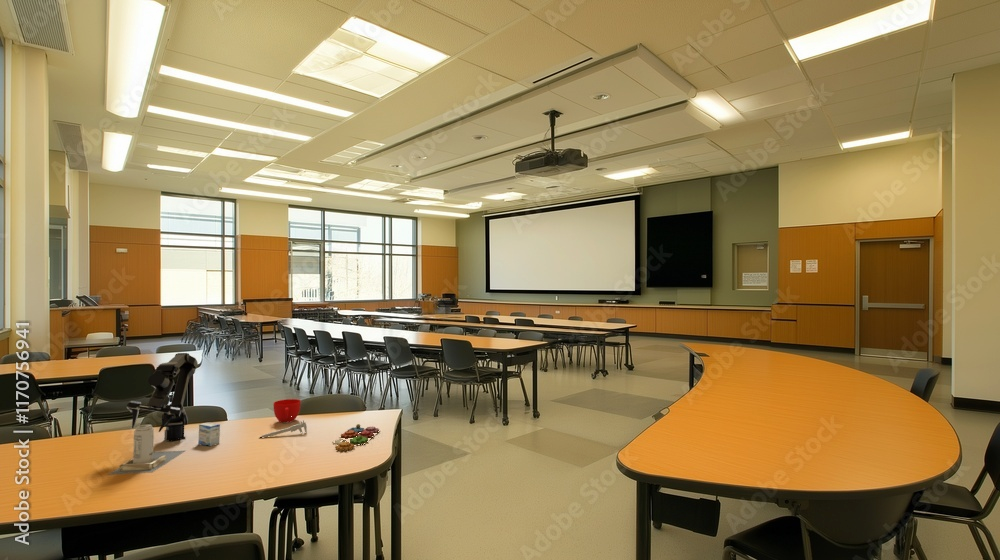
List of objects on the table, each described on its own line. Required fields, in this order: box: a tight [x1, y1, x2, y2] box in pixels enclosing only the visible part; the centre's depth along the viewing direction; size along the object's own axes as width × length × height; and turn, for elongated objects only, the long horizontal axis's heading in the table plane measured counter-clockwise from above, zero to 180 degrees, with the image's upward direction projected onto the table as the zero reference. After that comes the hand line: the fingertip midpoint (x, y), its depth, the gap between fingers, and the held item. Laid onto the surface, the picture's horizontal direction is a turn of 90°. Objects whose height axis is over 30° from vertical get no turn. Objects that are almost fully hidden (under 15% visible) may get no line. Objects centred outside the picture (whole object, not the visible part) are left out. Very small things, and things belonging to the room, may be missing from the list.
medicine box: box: [198, 422, 221, 447], centre depth 204 cm, size 8×4×9 cm, turn 68°
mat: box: [107, 450, 187, 476], centre depth 182 cm, size 24×15×1 cm, turn 9°
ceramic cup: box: [272, 398, 302, 423], centre depth 239 cm, size 13×17×10 cm
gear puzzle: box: [332, 423, 380, 451], centre depth 210 cm, size 31×16×4 cm, turn 176°
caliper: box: [258, 420, 308, 439], centre depth 217 cm, size 20×1×6 cm, turn 115°
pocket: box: [119, 455, 166, 471], centre depth 178 cm, size 9×11×2 cm
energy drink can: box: [132, 423, 155, 464], centre depth 178 cm, size 6×6×15 cm
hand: (145, 430), depth 189 cm, fingers open, 9 cm apart
